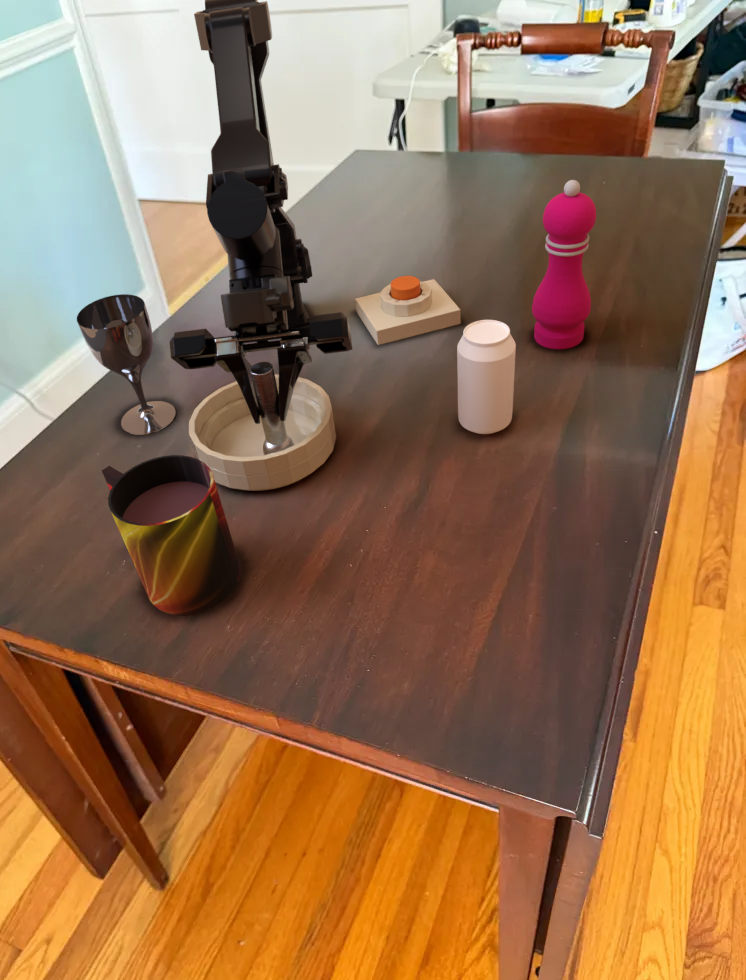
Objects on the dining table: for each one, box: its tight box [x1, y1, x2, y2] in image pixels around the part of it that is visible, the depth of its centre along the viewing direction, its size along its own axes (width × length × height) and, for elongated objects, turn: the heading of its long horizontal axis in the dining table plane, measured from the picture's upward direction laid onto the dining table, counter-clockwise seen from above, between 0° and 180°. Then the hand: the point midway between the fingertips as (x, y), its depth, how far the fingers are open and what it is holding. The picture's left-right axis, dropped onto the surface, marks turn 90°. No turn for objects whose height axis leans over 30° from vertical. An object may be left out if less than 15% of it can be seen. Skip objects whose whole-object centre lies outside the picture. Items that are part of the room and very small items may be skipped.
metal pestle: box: [250, 361, 294, 455], centre depth 84 cm, size 4×4×12 cm
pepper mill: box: [531, 179, 597, 350], centre depth 95 cm, size 7×7×20 cm
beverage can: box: [456, 319, 517, 435], centre depth 87 cm, size 6×6×12 cm
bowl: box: [188, 373, 337, 492], centre depth 91 cm, size 16×17×5 cm
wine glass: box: [76, 293, 177, 436], centre depth 95 cm, size 8×8×15 cm
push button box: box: [354, 278, 462, 346], centre depth 109 cm, size 10×12×4 cm
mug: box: [101, 454, 242, 616], centre depth 75 cm, size 10×14×12 cm
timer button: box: [390, 275, 421, 300], centre depth 107 cm, size 4×4×2 cm
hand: (269, 422), depth 83 cm, fingers closed on metal pestle, 2 cm apart
